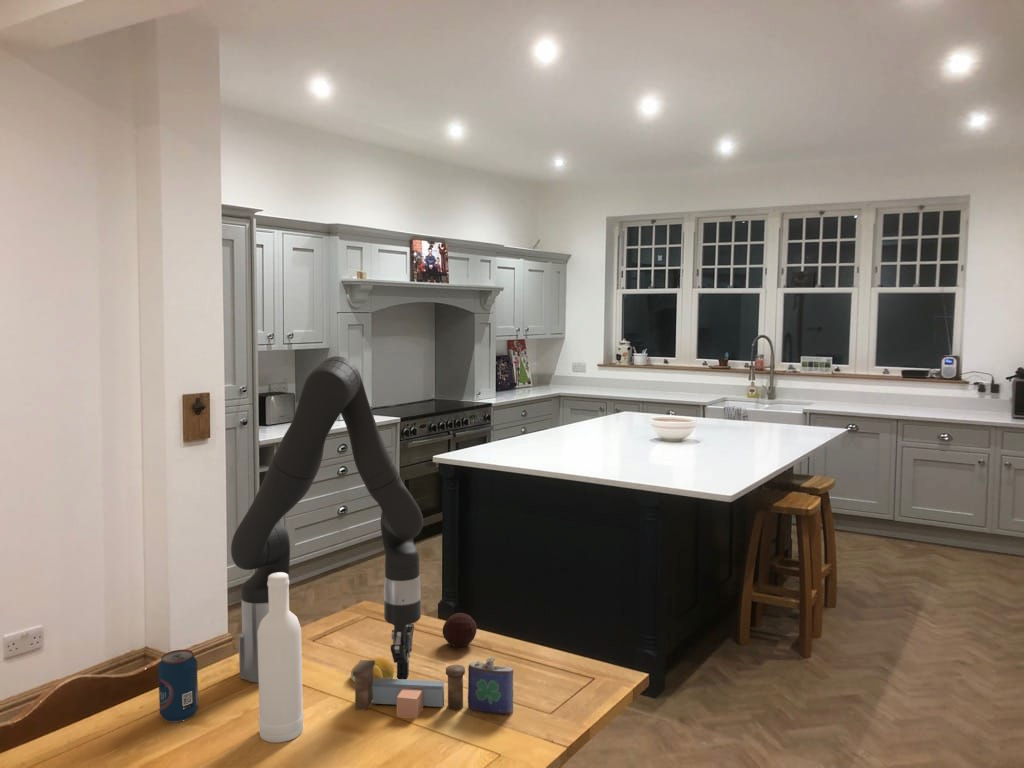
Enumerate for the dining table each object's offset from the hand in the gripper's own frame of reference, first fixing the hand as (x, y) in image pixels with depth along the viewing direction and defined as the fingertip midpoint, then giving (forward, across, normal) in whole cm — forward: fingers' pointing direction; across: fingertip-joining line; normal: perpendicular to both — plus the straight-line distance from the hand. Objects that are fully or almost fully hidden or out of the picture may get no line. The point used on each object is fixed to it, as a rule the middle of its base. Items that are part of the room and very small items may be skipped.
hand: (403, 677), depth 169 cm
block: (+2, -11, -4) cm, 11 cm away
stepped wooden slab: (+2, -8, +6) cm, 10 cm away
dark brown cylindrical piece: (+2, -8, -12) cm, 14 cm away
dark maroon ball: (+2, +22, -9) cm, 24 cm away
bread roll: (+3, +4, +7) cm, 9 cm away
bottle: (+2, -20, +19) cm, 27 cm away
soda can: (+2, -15, +41) cm, 44 cm away
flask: (+2, -9, -19) cm, 21 cm away
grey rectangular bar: (+2, -7, -3) cm, 8 cm away
